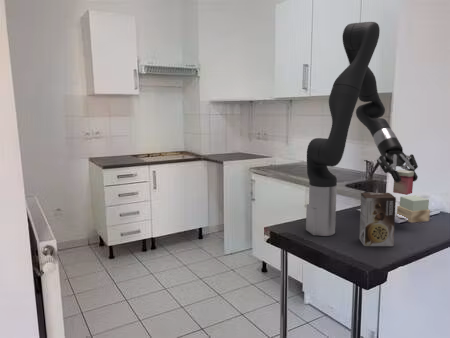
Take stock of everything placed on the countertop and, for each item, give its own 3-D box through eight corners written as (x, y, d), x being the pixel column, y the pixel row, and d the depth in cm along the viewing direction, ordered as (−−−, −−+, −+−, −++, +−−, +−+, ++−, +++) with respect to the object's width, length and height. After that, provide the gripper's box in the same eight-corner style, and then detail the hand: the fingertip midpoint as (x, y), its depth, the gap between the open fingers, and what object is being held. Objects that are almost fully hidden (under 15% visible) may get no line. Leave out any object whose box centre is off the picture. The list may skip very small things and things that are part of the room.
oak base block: (410, 223, 135) (411, 211, 134) (396, 217, 142) (397, 206, 142) (429, 221, 136) (430, 210, 136) (414, 215, 144) (414, 204, 143)
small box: (392, 192, 126) (393, 170, 125) (398, 190, 129) (399, 169, 127) (407, 195, 122) (408, 172, 121) (412, 193, 125) (414, 171, 124)
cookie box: (386, 239, 118) (389, 192, 115) (393, 247, 112) (397, 197, 109) (358, 239, 119) (360, 192, 116) (364, 246, 113) (366, 197, 110)
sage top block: (412, 211, 135) (413, 201, 134) (399, 206, 141) (400, 196, 141) (428, 209, 136) (428, 199, 135) (414, 205, 143) (415, 195, 142)
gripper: (374, 137, 128) (394, 175, 119) (409, 136, 131) (431, 173, 121) (365, 150, 134) (383, 187, 125) (398, 148, 137) (419, 185, 127)
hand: (407, 180), depth 123 cm, fingers closed on small box, 5 cm apart
